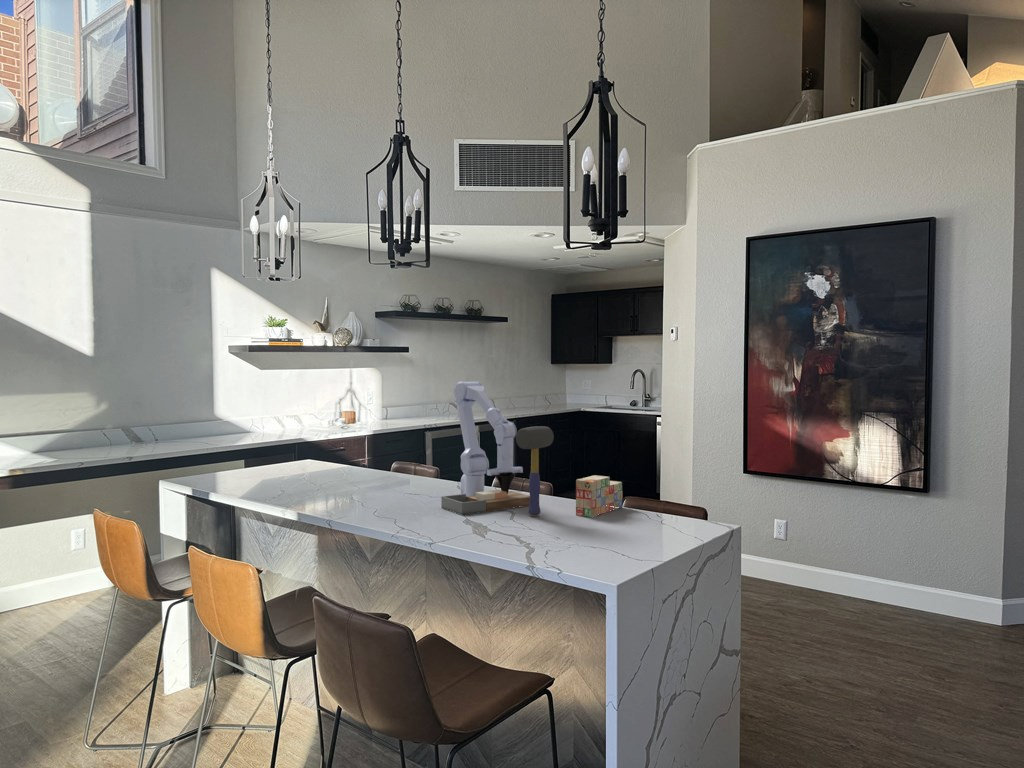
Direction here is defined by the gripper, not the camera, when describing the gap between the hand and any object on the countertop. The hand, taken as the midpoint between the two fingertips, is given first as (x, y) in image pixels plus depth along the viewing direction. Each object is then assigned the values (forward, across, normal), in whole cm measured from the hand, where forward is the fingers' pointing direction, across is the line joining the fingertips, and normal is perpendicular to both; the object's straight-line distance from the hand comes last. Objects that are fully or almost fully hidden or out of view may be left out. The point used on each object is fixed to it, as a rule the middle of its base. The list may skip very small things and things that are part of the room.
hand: (504, 493), depth 256 cm
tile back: (+1, -4, 0) cm, 4 cm away
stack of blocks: (+4, +20, -28) cm, 35 cm away
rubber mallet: (+4, -3, -22) cm, 23 cm away
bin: (+4, -17, 0) cm, 18 cm away
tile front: (+1, -8, 0) cm, 9 cm away
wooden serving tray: (+4, -2, 0) cm, 4 cm away
